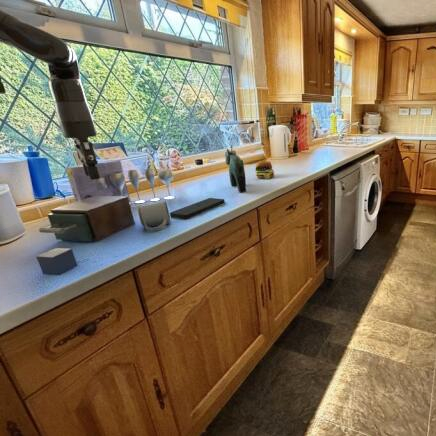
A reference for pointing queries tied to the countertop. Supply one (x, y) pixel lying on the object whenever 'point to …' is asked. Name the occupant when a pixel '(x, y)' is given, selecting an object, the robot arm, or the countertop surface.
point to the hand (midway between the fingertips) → (92, 177)
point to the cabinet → (102, 214)
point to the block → (57, 261)
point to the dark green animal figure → (236, 170)
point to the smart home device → (197, 208)
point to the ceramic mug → (154, 215)
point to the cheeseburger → (264, 170)
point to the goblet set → (133, 175)
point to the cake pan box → (94, 181)
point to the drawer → (69, 226)
